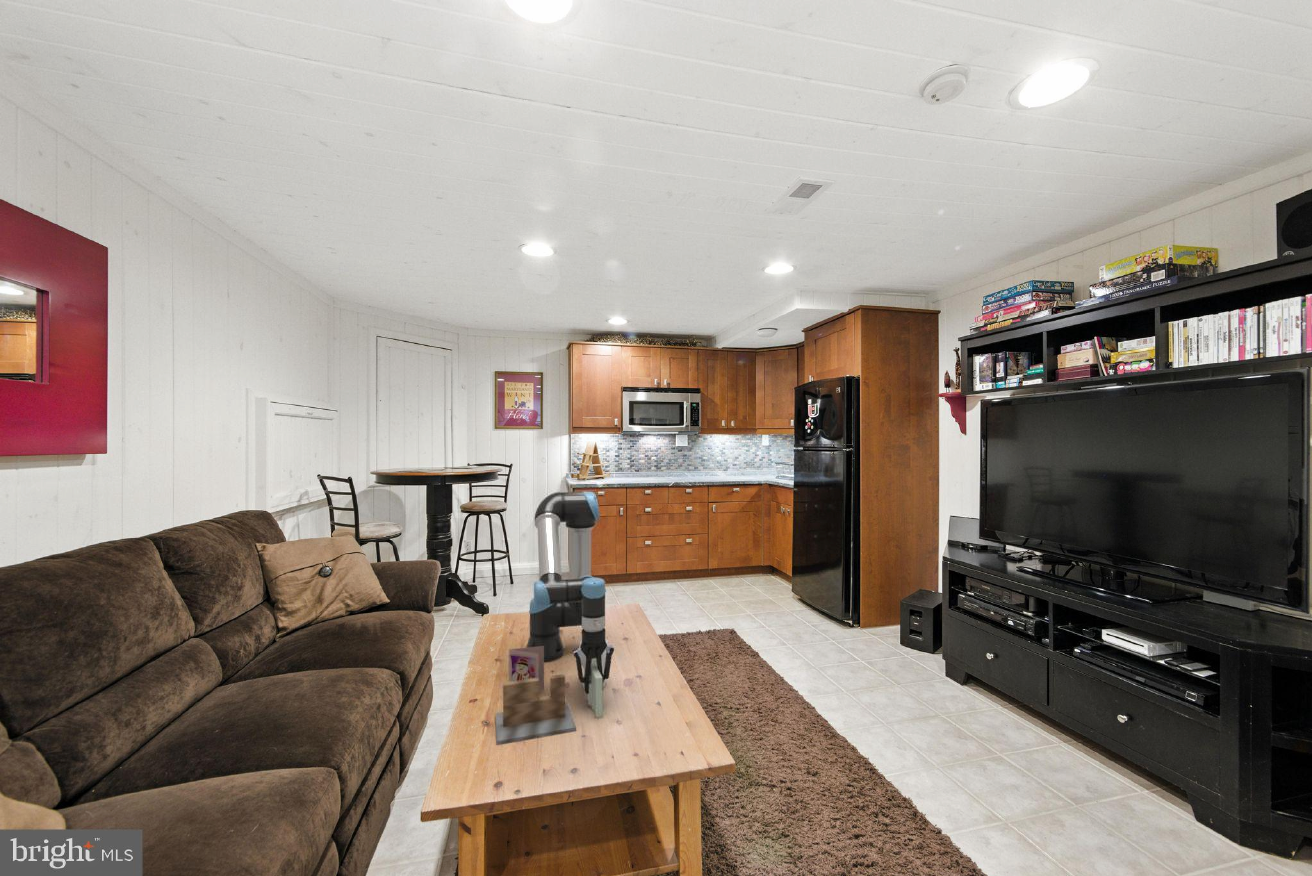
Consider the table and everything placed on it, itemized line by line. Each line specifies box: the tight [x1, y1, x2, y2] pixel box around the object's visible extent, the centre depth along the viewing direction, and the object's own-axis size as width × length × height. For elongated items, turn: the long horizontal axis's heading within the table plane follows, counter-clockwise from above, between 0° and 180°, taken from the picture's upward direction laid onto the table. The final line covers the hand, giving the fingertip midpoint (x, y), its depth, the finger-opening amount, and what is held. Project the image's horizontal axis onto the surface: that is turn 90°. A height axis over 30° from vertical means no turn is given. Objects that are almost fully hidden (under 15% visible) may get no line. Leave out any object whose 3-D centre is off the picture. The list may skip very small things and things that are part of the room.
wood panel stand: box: [494, 673, 577, 745], centre depth 157 cm, size 22×16×13 cm
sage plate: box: [585, 659, 603, 719], centre depth 168 cm, size 15×2×12 cm, turn 19°
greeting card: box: [508, 646, 545, 692], centre depth 176 cm, size 11×7×15 cm, turn 70°
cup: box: [578, 637, 609, 688], centre depth 182 cm, size 11×11×15 cm
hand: (593, 702), depth 168 cm, fingers closed on sage plate, 2 cm apart
